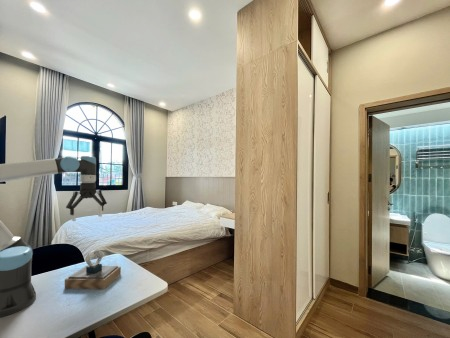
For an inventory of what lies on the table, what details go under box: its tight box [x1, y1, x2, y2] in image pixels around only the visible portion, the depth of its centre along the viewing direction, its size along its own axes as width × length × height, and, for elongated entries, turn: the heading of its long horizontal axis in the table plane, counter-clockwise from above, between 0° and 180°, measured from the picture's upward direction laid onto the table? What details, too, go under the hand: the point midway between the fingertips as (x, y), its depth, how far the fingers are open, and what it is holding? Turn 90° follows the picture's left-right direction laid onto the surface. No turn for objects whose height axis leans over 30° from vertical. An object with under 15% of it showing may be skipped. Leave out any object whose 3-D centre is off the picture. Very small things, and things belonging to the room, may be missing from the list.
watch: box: [85, 248, 104, 274], centre depth 103 cm, size 6×8×11 cm
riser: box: [64, 265, 122, 290], centre depth 102 cm, size 20×14×5 cm
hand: (87, 218), depth 114 cm, fingers open, 13 cm apart
